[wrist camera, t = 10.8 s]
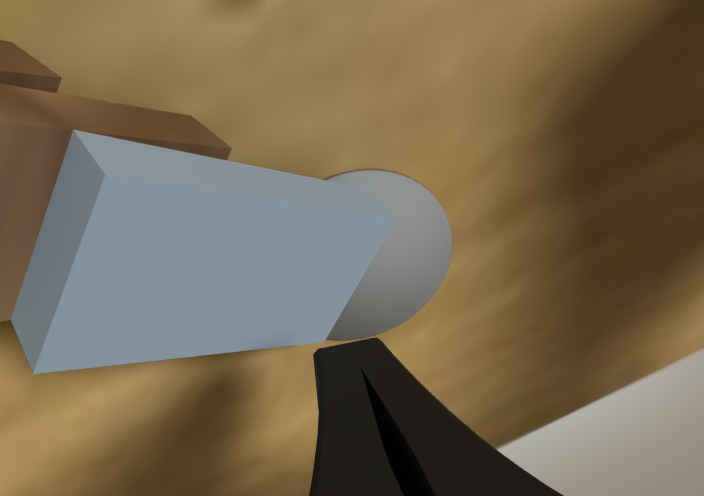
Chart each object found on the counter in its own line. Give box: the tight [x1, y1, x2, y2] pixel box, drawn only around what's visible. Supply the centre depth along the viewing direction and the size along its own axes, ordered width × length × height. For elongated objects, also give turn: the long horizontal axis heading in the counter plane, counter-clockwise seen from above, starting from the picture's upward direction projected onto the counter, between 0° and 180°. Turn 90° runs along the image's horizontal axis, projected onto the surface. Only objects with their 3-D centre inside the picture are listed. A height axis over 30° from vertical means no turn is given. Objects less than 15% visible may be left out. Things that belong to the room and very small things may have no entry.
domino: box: [0, 84, 232, 322], centre depth 11 cm, size 2×4×8 cm
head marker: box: [324, 169, 452, 340], centre depth 18 cm, size 6×6×1 cm
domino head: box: [11, 130, 397, 374], centre depth 14 cm, size 2×4×8 cm
